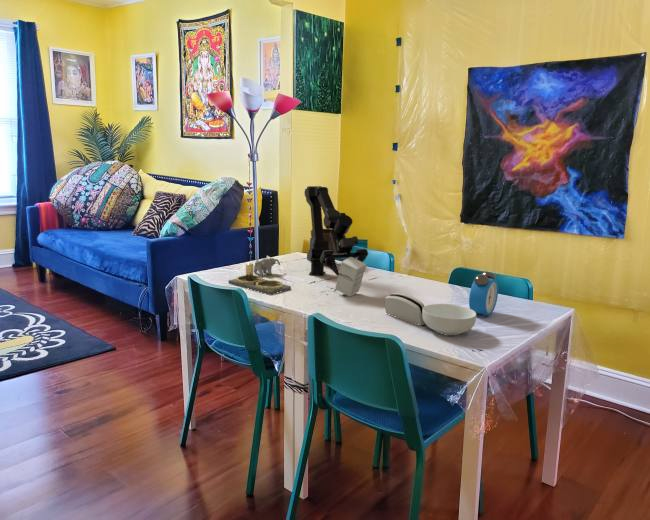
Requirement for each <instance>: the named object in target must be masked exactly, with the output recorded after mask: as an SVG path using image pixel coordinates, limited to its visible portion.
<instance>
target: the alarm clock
mask: <svg viewBox="0 0 650 520" xmlns="http://www.w3.org/2000/svg"><path fill="white" fill-rule="evenodd" d="M498 283H499V282H497V280H496V275H495V273H493V272H492V271H483V272H482V273H481V274H478V275H477V274H476V276H475V277H474V279H473V282H472V284H471V287H470V291H469V297H468V298H469V299H468V306H469V307H468V308H469V309H471V310H473V311H475V312H476V315H477V314H478V315H481V316H483V318H484V317H486V316H489V317H490V315H491V314H492V313H493V312H494V311H495V308H496V305H497V303H498V302H497V301H498V297H499V284H498Z"/></svg>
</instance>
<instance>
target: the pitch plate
mask: <svg viewBox="0 0 650 520" xmlns="http://www.w3.org/2000/svg"><path fill="white" fill-rule="evenodd" d="M228 284H229V285H233V286H237V287H241V288H243V287H245V289H247V288H249V289H248V290H250V289H252V290H251V291H254V290H256V291H255V292H257V291H259V292H258V293H261V292H262V294H264V293H266V294H265V295H268V294H271V295H274V294H273V293H275V294H278V293H277V292H279V293H281V292H280V291H282V292H285V290H286V291H290V290H292V286H291V285H288V284H284V282H283V281H279V280H274V279H273V280H271V279H269V280H268V279H264V278H263V276H260V275H254V263H252V262H249V263H246V264H245V275H240V276H236V278H234V279H230V280H229V279H228ZM289 289H290V290H289Z"/></svg>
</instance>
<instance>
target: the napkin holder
mask: <svg viewBox="0 0 650 520" xmlns="http://www.w3.org/2000/svg"><path fill="white" fill-rule="evenodd" d="M425 306H426V305H425V304H424V303H423V302H422V301H421V300H419V299H418V298H416V297H413V296H412V295H409V294H406V293H402V292H393V293H390V294H389V295H387V296H385V298H384V307H385V308H384V309H385V314H386V313H387V314H386V315H388V314H390V315H389V316H391V315H393V316H392V317H394V316H396V317H399V318H402V319H404V320H403V321H405V320H407V321H406V322H408V321H410V322H409V323H411V322H413V323H412V324H414V323H416V324H415V325H417V324H419V325H424V326H426V324H425V322H424V321H423V317H422V310H423V307H425ZM396 317H395V318H396ZM399 318H398V319H399ZM402 319H401V320H402ZM419 325H418V326H419Z"/></svg>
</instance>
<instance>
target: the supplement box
mask: <svg viewBox="0 0 650 520" xmlns="http://www.w3.org/2000/svg"><path fill="white" fill-rule="evenodd" d="M366 267H367V263H366V262H364V261H363V262H361V261H359V260H357V259H355V258H353V257H349V258H345V259H344V260H342V261H341V264H340V267H339V270H338V272H339V275H338V276H337V280H336V283H335V287H334V290H336V291H338V292H340V293H342V294H344V295H345V296H347V297H349V298H350V297H353V296H354V295H355V294H357V293H358V292H359V291H360V289H361V288H360V287H361V285H362V281H363V277H364V274H365V271H366Z"/></svg>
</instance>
